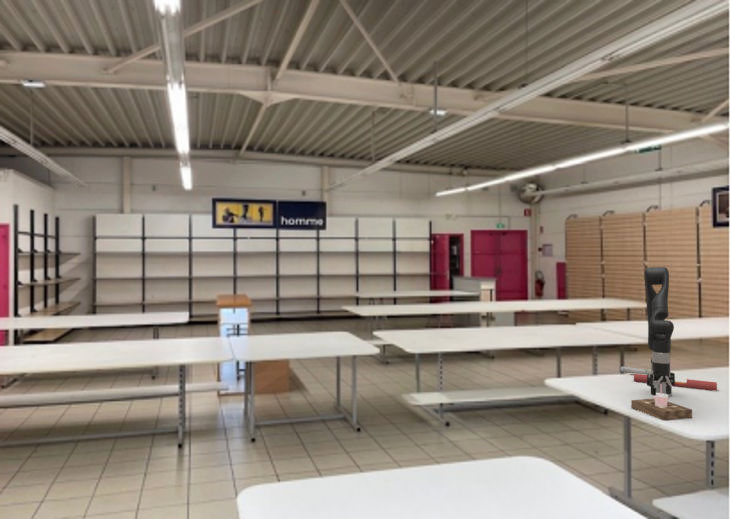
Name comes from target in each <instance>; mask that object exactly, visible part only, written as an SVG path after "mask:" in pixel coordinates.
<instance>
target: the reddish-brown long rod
mask: <svg viewBox="0 0 731 519" xmlns="http://www.w3.org/2000/svg"><path fill="white" fill-rule="evenodd" d="M634 381H636V382H635V383H641V382H642V384H647V375H645V374H637V373H633V382H634ZM676 386H677V387H678V388H685V387H686V389H687V388H688V389H694V388H695V389H696V390H703V389H705V391H712V390H718V383H717V382H716V381H707V380H697V379H688V378H686V382H684V381H683V382H682V381H676V380H675V385H672V387H676ZM695 389H694V390H695Z"/></svg>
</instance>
